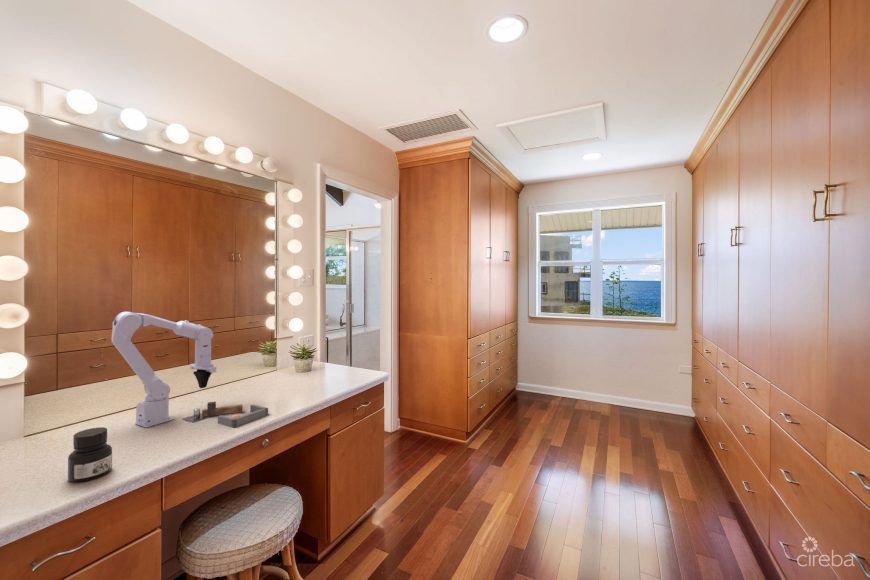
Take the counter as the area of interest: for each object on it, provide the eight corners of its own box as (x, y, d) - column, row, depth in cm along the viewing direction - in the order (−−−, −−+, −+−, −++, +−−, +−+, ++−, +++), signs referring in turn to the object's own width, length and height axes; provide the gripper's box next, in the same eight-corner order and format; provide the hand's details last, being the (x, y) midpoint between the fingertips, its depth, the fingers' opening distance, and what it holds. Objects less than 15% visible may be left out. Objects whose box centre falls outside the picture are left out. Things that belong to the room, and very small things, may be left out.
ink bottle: (76, 487, 94) (76, 441, 94) (58, 480, 97) (58, 436, 97) (120, 469, 103) (120, 428, 103) (102, 463, 106) (102, 423, 106)
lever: (201, 417, 141) (201, 405, 141) (202, 414, 144) (202, 403, 144) (242, 412, 148) (242, 400, 148) (242, 409, 151) (242, 398, 151)
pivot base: (193, 422, 138) (193, 413, 138) (182, 419, 141) (182, 410, 141) (211, 416, 144) (211, 408, 144) (200, 413, 147) (200, 405, 147)
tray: (233, 427, 133) (233, 420, 133) (217, 423, 137) (217, 416, 137) (268, 414, 147) (268, 408, 147) (252, 411, 151) (253, 404, 151)
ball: (232, 412, 139) (232, 420, 139) (228, 417, 135) (228, 425, 136) (242, 412, 139) (242, 421, 140) (238, 417, 136) (238, 425, 136)
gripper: (223, 355, 151) (223, 387, 151) (202, 352, 157) (201, 382, 157) (206, 358, 144) (206, 391, 144) (185, 354, 150) (184, 386, 151)
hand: (202, 387), depth 150 cm, fingers closed
